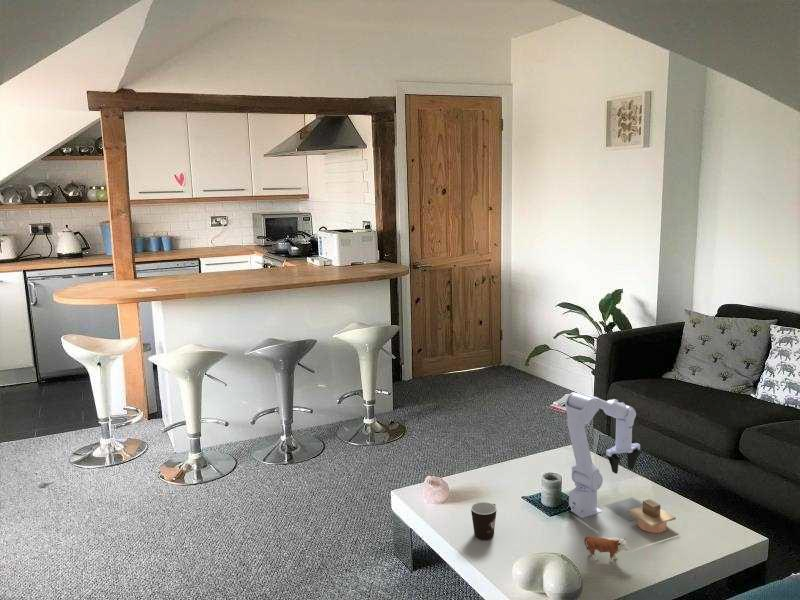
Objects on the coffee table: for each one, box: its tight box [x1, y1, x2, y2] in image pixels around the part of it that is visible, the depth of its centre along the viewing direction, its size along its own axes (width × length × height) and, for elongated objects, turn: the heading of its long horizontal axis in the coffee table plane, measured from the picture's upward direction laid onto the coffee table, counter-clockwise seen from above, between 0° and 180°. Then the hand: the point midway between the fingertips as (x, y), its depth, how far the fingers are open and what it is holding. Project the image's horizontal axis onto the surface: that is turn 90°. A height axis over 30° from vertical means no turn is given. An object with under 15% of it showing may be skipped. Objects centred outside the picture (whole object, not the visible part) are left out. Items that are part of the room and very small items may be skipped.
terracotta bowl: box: [637, 519, 668, 534], centre depth 229 cm, size 9×9×4 cm
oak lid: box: [627, 498, 677, 527], centre depth 229 cm, size 11×11×5 cm
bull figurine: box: [583, 535, 630, 564], centre depth 211 cm, size 4×13×8 cm, turn 66°
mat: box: [603, 497, 643, 522], centre depth 242 cm, size 13×13×1 cm
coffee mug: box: [470, 501, 498, 541], centre depth 228 cm, size 12×9×10 cm
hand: (622, 470), depth 252 cm, fingers open, 7 cm apart
